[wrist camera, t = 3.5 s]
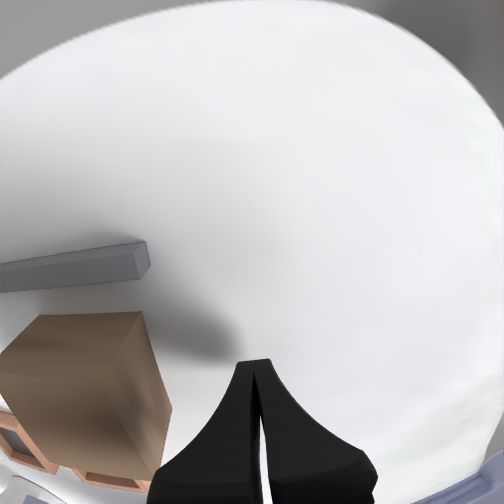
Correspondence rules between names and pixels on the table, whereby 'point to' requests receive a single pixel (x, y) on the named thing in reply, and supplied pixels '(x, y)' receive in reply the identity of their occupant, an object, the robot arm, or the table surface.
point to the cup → (26, 492)
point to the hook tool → (76, 268)
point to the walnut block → (89, 392)
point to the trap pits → (26, 452)
